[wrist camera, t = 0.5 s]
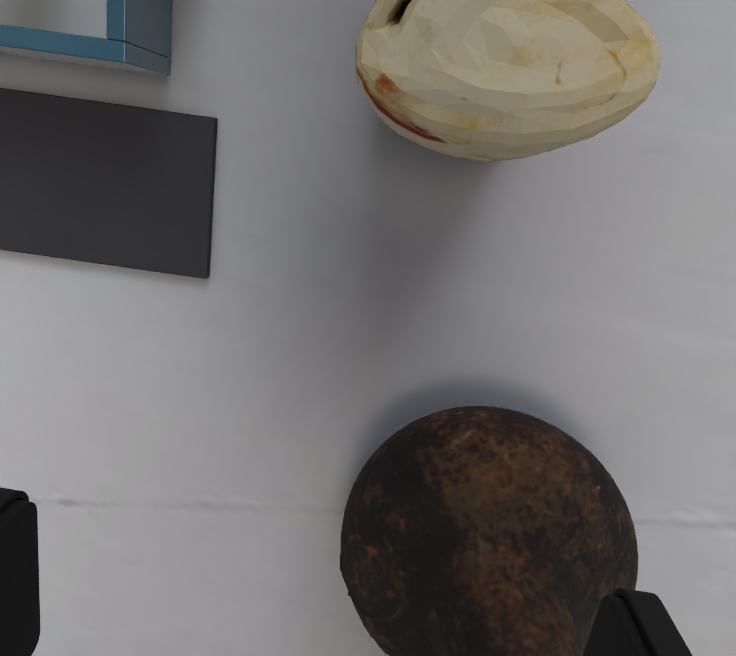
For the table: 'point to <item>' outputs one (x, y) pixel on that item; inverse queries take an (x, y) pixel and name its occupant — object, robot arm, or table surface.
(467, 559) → the dark brown vase
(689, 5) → the table surface
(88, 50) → the sink
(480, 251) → the table surface
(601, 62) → the food model
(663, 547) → the table surface
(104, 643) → the table surface
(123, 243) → the mat
